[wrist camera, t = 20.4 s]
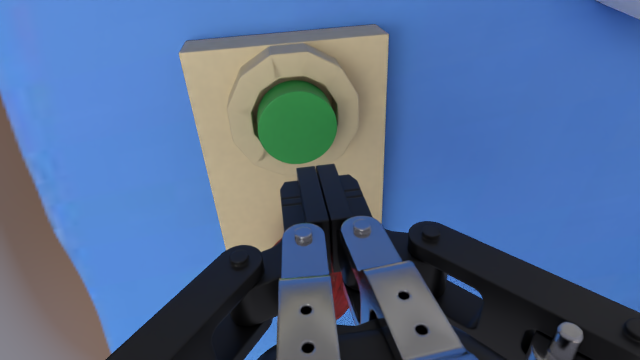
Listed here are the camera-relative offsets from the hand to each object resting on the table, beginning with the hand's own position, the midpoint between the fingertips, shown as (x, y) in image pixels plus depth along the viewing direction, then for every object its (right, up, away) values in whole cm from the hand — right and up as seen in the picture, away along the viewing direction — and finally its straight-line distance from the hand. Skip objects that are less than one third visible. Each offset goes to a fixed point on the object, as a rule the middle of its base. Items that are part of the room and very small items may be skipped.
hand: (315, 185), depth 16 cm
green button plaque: (-1, +1, +12) cm, 12 cm away
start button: (-1, +4, +6) cm, 7 cm away
